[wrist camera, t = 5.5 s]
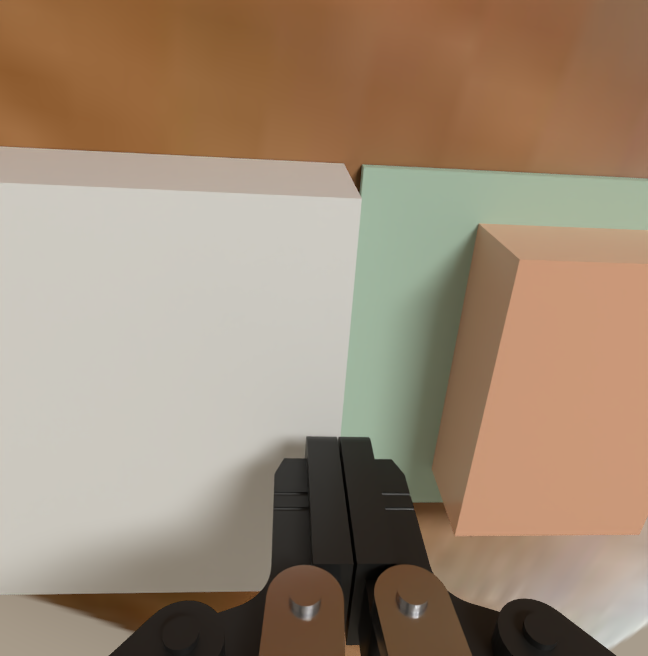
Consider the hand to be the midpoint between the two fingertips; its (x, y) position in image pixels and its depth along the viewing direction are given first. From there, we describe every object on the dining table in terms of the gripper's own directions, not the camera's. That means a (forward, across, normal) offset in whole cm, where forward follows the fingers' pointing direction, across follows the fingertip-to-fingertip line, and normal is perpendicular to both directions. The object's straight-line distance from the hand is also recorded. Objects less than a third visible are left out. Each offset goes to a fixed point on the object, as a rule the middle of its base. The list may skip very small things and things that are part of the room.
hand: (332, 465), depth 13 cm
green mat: (+5, -6, 0) cm, 8 cm away
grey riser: (+5, +6, 0) cm, 8 cm away
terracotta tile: (+3, -7, 0) cm, 8 cm away
